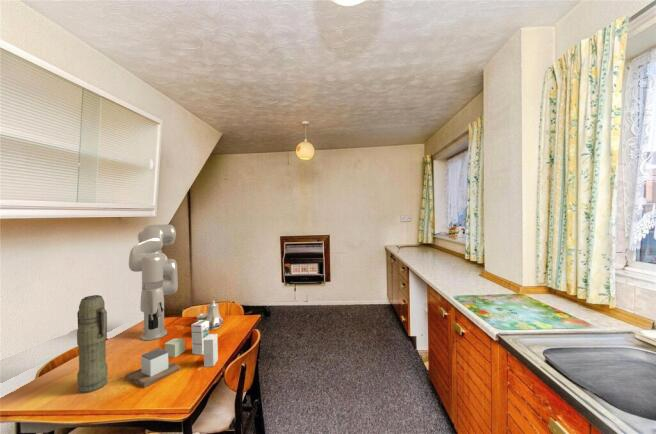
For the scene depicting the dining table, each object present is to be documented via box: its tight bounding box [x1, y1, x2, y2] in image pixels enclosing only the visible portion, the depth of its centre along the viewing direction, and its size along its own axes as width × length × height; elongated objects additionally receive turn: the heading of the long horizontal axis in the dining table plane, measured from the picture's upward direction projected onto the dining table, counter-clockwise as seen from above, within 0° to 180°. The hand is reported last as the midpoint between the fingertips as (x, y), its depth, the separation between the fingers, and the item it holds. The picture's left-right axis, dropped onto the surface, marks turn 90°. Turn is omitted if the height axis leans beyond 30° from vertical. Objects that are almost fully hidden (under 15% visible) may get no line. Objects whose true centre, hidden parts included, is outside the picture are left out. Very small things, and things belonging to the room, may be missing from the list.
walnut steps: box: [124, 360, 180, 389], centre depth 115 cm, size 14×14×2 cm
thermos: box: [76, 294, 109, 394], centre depth 107 cm, size 9×12×35 cm
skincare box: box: [203, 333, 219, 368], centre depth 122 cm, size 6×4×12 cm
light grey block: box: [140, 347, 169, 377], centre depth 114 cm, size 7×7×7 cm
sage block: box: [164, 337, 186, 358], centre depth 132 cm, size 6×6×6 cm
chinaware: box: [195, 299, 224, 331], centre depth 164 cm, size 28×17×17 cm, turn 23°
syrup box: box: [191, 320, 210, 356], centre depth 134 cm, size 6×6×14 cm
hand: (153, 328), depth 115 cm, fingers closed
